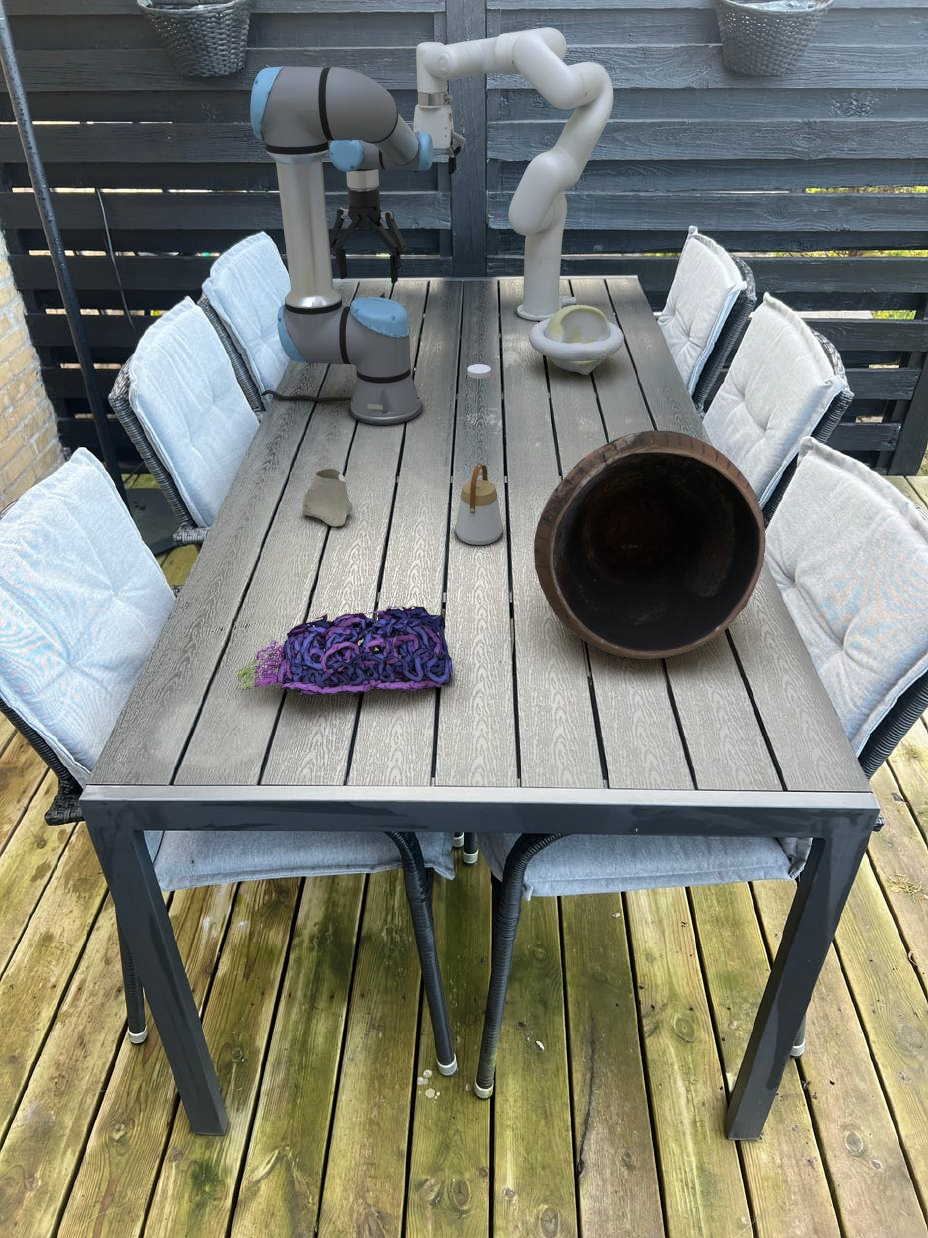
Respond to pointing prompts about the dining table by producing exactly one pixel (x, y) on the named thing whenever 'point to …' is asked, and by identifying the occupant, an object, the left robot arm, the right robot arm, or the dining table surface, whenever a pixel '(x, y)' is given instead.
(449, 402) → the dining table surface
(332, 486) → the grey irregular lump
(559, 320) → the hat
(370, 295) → the brick
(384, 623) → the decorative ornament
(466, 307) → the dining table surface
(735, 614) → the pot
